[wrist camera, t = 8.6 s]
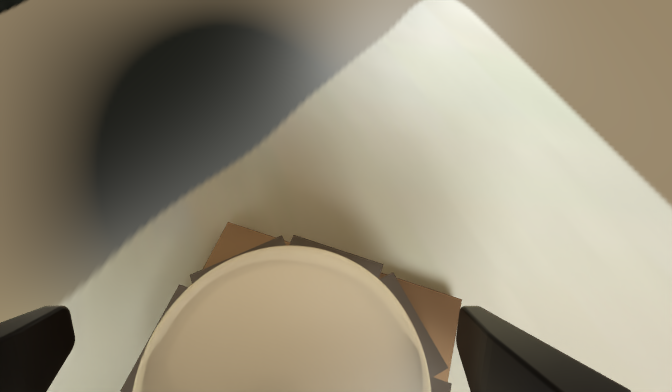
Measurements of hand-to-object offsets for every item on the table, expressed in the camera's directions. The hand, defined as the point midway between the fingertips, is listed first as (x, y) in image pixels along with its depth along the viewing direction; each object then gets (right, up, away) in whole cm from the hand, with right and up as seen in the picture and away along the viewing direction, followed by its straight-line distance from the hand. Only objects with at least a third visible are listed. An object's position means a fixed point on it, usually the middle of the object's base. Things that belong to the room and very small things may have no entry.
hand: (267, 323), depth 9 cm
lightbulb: (0, -5, +7) cm, 9 cm away
